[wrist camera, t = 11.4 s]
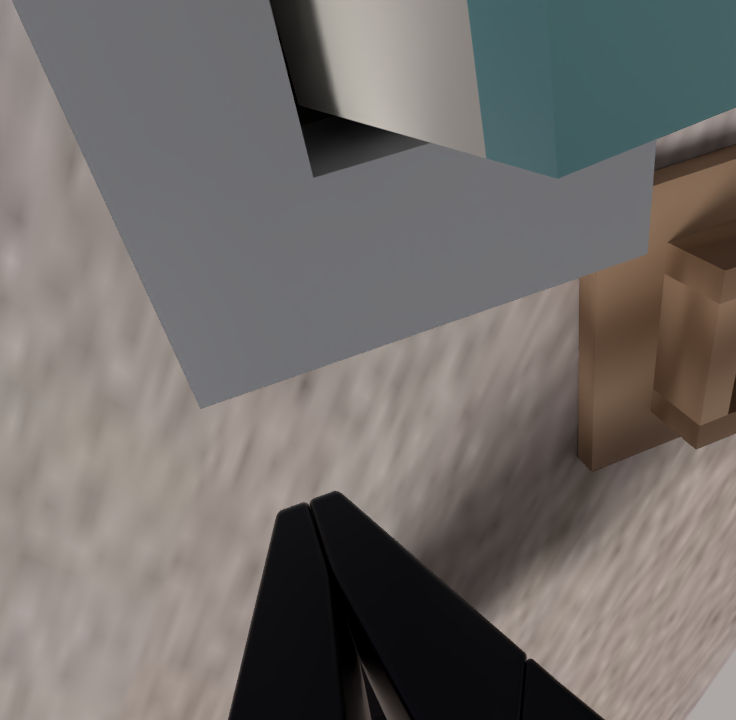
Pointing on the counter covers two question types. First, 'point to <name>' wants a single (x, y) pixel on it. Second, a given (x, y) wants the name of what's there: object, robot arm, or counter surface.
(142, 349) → the counter surface
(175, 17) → the socket block
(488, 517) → the counter surface
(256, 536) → the counter surface
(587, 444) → the holster
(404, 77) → the plug
